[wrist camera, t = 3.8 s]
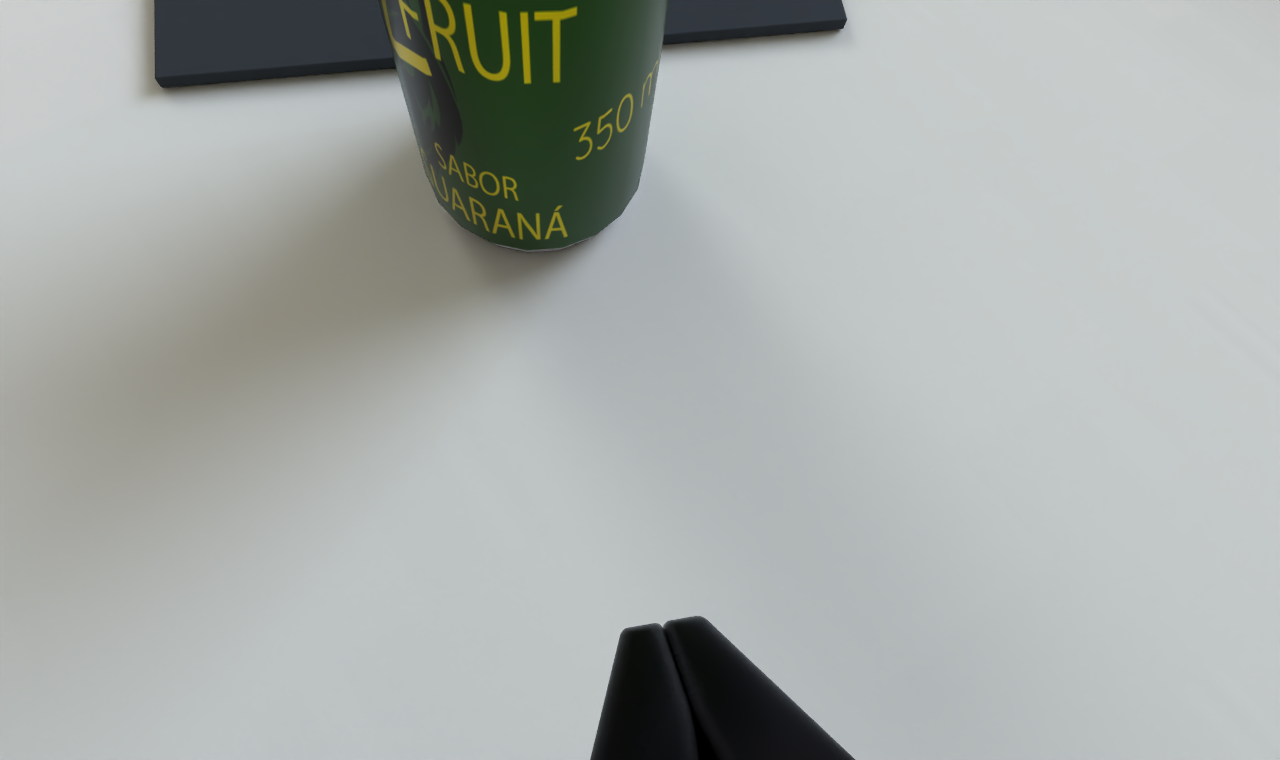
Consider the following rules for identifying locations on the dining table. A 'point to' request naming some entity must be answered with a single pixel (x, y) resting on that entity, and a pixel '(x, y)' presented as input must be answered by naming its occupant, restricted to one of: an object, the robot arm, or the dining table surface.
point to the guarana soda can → (529, 109)
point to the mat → (357, 40)
